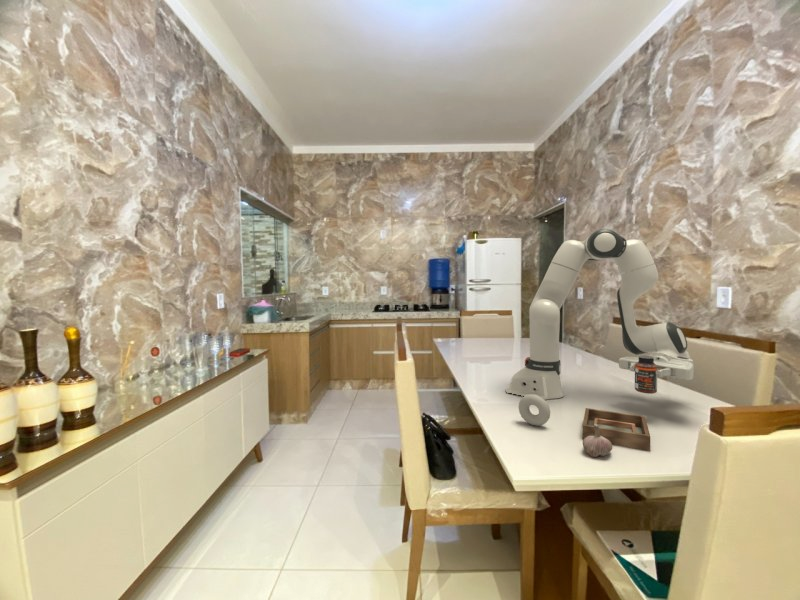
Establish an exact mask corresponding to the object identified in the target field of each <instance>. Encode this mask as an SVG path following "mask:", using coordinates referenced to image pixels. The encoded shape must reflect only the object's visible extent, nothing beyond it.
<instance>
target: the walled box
mask: <svg viewBox="0 0 800 600" xmlns="http://www.w3.org/2000/svg"><path fill="white" fill-rule="evenodd" d="M594 424H597V425H598V427H599V433H600V436H603V437H604V438H606V439H608V440H609V441H610V442H611V444H612V446H613V445H614V446H620V447H624V446H625V447H624V448H630V449H631V448H632V449H635V450H641V451H646V452H651V434H650V430H649V426H648V422H647V420H646V416H645V415H640V414H639V415H638V414H634V413H633V414H632V413H626V412H625V413H624V412H617V411H609V410H602V409H596V408H589V407H585V409H584V415H583V421H582V440H584V439H585V438H586V437H587V436H595V428H594Z"/></svg>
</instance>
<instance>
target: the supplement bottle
mask: <svg viewBox="0 0 800 600" xmlns="http://www.w3.org/2000/svg"><path fill="white" fill-rule="evenodd" d="M638 357H639V361H638V362H637V363H636V364H635V372H634V390H635V391H636V392H638V393H643V394H648V395H649V394H650V395H653V394H656V393H657V392H658V377H657V375H656V370H657V365H656V364H655V363H654V358H653V357H651V356H649V355H638Z"/></svg>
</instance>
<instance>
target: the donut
mask: <svg viewBox="0 0 800 600" xmlns="http://www.w3.org/2000/svg"><path fill="white" fill-rule="evenodd" d="M531 406H534V407H536V408H537V410H538V414H534V413H532V412H531V410H530V407H531ZM518 411H519V414H520V417H521V418H522V419H523V420H524V421H525V422H526V423H527V424H529V425H532V426H534V425H535V427H536V426H537V427H540V426H543V425H545V424H546V423H548V422H549V419H550V418H551V417H550V416H551V410H550V407H549V404H548V403H547V401H546V400H544V399H543V398H541V397H540V396H537V395H535V394H529V395H526V396H524V397H523V396H522V397H521V398H520V400H519V401H518Z"/></svg>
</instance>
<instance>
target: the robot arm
mask: <svg viewBox="0 0 800 600" xmlns="http://www.w3.org/2000/svg"><path fill="white" fill-rule="evenodd" d="M557 249H558V250H557V251H556V252H555V254H554V256H553V258H552V259H551V262H550V264H549V266H548V268H547V270H546V273H545V274H544V277H543V279H542V281H541V283H540V285H539V286H538V290H537V291H536V293H535V295H534V297H533V300H532V301H531V303H530V306H529V310H528V311H529V312H528V313H529V356H527V357H526V358H525V360H524V367H523V368H521V369H519V371H517V372H516V373H514V374H513V376H512V377H511V380H510V384H508V385H507V386H506V387H505V390H506V392H508V393H512V394H511V395H513V394H517V395H516V396H518V395H521V396H520V397H523V396H526V395H529V394H535V395H537V396H540V397H541V398H543V399H544V400H545V401H546V400H551V399H553V400H554V399H560V398H562V397H564V396H565V393H564V390H563V386H562V381H561V380H562V379H561V373H562V372H561V371H562V366H561V365H562V364H561V360H560V330H561V329H560V325H561V324H560V323H561V312H560V311H561V308H562V306H563V304H564V303H565V301H566V299H567V297H568V296H569V294H570V292H571V290H572V289H573V286H574V285H575V282H576V280H577V278H578V276H579V275H580V272H581V270H582V267H583V266H584V264H585V263H586V262H587V261H596V262H597V261H604V260H611V261H613V262H614V263H615V264H616V266H617V268H618V271H619V274H620V278H621V284H620V287H618V289H617V292H616V293H617V294H616V299H617V307H618V314H619V317H620V318H619V319H620V325H621V332H622V333H621V335H622V336H621V337H622V344H623V348H625V350H627V351H628V352H629V353H632V354H634V355H636V356H624V357H620V358H619V359H618V367H619V369H621V370H628V371H629V372H634V373H635V364H636V363H637V362H638V361H639V356H640V355H643V354H648V353H650V354H648V356H651V357H653V358H654V363H655V364H656V365H657V370H656V375H657V379H658V378H659V379H667V378H669V379H680V380H683V381H690V380H693V378H694V373H695V372H694V371H695V367H694V365H695V364H694V360H693V359H692V358H691V356H690V353H689V352H688V350H687V348H688V341H687V337H686V335H685V333H684V330H682V328H680V327H679V326H678V325H677V324H675V323H672V322H669V321H668V322H661V323H656V324H655V323H654V324H652V325H651V324H650V325H646V326H645V325H644V326H638V325H637V320H636V315H635V307H634V305H635V302H636V301H637V300H638V299H639V298H640V297H642V296H643V295H645V294H646V293H648V292H649V291H650V290H652V289H653V288H654V287H655V286H656V284H657V283H658V281H659V278H660V276H659V272H658V268H657V266H656V263H655V261H654V257H653V256H652V255H651V252H650V250H649V249H648V247H647V246H646V244H645V243H644V242H643V240H640V239H635V238H634V239H633V238H632V239H628V240H627V239H626V238H624V237H623V236H621V235H620V234H618V233H617V232H616V231H615V230H612V229H609V228H600V229H598V230H595V231H594V232H593V233H590V235H589V236H587V238H585V240H582V241H579V240H577V239H568V240H565V241H563V242H562V243H561V245H560V247H559V248H557ZM637 355H638V357H637ZM505 390H504V391H505ZM506 392H505V393H506ZM508 393H507V394H508Z"/></svg>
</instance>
